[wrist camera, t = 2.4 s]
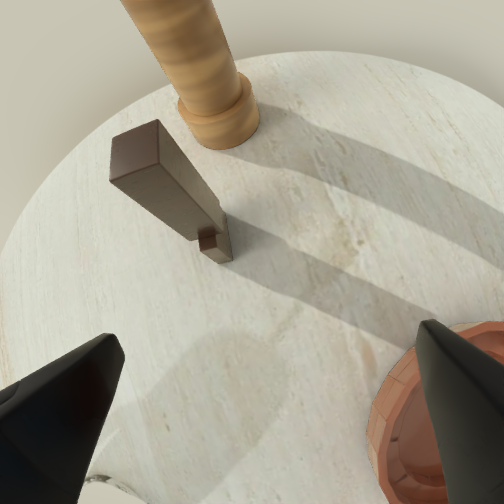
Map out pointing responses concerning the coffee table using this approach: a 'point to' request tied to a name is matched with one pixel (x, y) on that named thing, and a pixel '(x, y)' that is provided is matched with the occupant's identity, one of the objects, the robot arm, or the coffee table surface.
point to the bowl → (415, 425)
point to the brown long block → (169, 187)
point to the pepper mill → (198, 69)
